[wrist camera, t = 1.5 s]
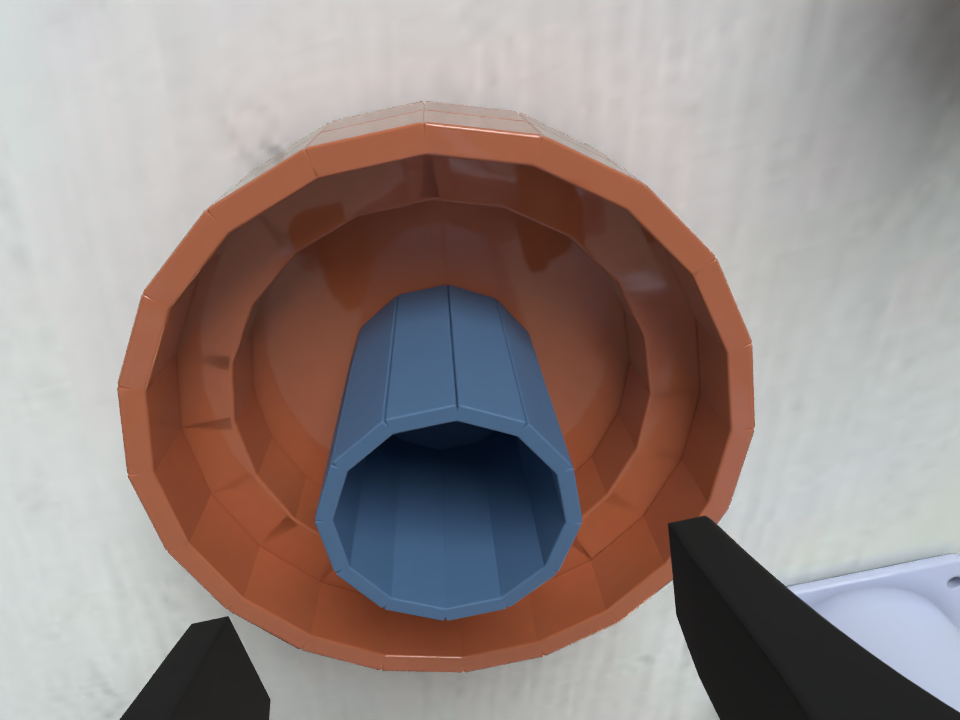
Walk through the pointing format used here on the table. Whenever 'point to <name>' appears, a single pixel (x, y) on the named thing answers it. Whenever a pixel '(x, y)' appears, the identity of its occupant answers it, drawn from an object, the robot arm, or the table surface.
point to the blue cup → (446, 461)
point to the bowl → (364, 292)
